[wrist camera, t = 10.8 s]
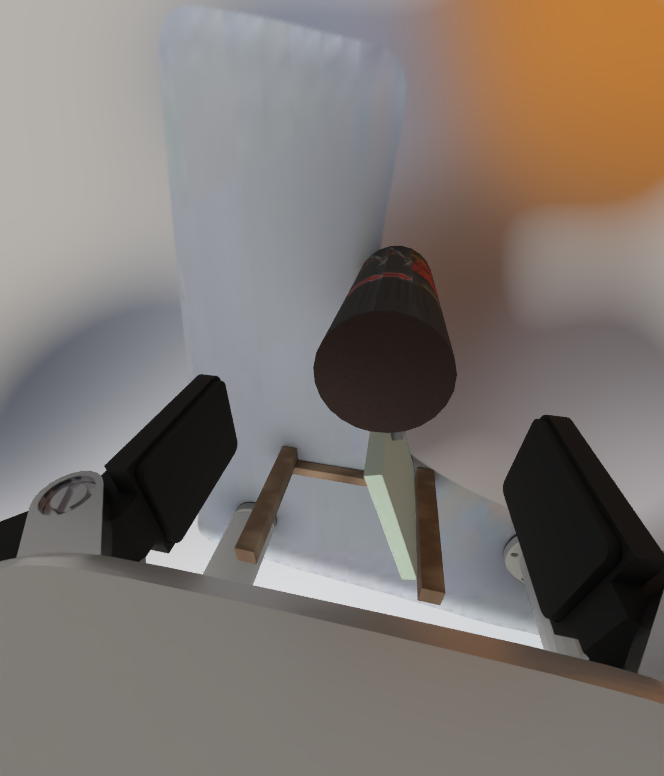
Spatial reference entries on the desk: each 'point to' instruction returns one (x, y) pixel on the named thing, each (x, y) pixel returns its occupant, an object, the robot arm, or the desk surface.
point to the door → (394, 495)
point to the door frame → (288, 464)
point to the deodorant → (388, 347)
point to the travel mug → (225, 555)
